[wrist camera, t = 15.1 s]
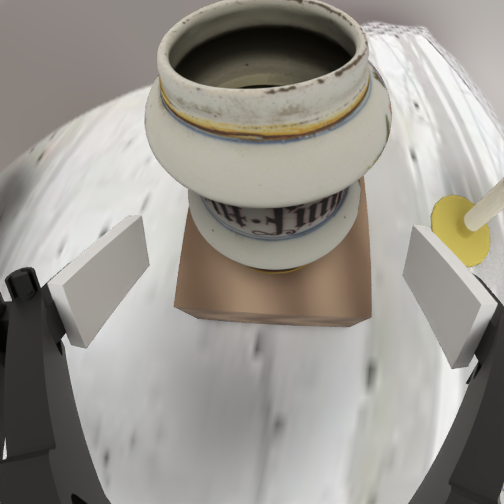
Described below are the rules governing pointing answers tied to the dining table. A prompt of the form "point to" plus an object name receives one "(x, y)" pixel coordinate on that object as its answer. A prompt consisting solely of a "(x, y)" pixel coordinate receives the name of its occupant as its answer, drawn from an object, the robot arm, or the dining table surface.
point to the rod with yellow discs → (467, 224)
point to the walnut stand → (278, 283)
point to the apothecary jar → (268, 126)
